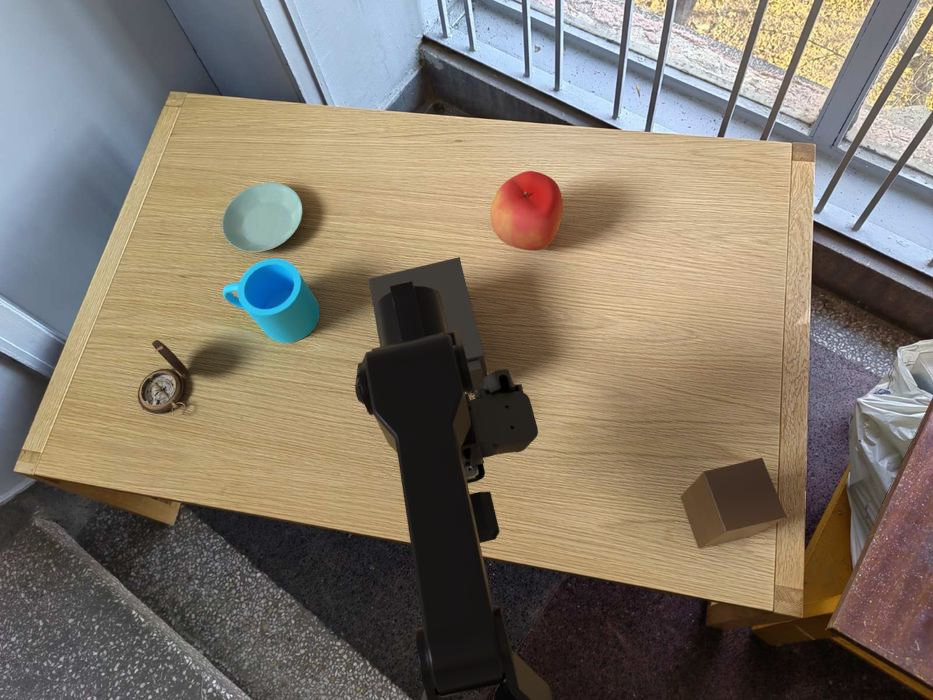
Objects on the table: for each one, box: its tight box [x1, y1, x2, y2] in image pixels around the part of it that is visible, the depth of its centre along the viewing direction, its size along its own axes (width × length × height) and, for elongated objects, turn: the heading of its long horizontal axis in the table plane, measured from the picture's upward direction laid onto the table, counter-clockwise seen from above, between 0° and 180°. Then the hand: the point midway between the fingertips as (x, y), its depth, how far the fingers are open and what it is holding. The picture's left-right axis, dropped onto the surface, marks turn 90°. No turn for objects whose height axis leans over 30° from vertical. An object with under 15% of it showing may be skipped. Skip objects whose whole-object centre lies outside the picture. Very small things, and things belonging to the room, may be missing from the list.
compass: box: [137, 339, 191, 417], centre depth 86 cm, size 8×8×7 cm
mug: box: [222, 258, 321, 344], centre depth 89 cm, size 12×8×8 cm
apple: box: [489, 170, 564, 251], centre depth 90 cm, size 10×10×10 cm
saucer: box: [221, 182, 303, 253], centre depth 98 cm, size 12×12×2 cm
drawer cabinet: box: [367, 256, 488, 378], centre depth 85 cm, size 14×12×9 cm
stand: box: [680, 457, 787, 549], centre depth 72 cm, size 6×6×12 cm
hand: (455, 466), depth 72 cm, fingers closed
